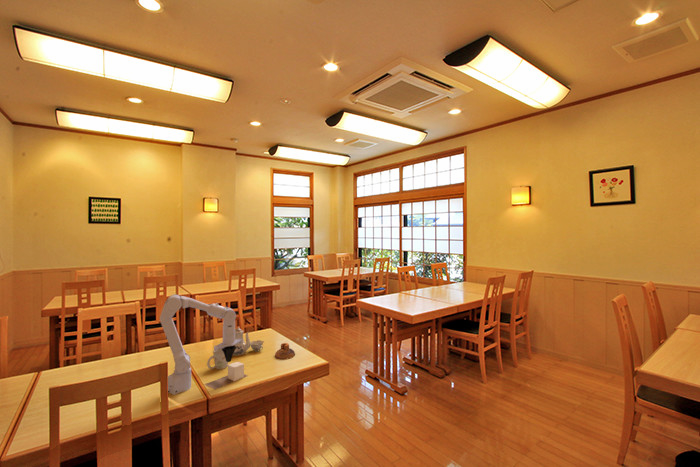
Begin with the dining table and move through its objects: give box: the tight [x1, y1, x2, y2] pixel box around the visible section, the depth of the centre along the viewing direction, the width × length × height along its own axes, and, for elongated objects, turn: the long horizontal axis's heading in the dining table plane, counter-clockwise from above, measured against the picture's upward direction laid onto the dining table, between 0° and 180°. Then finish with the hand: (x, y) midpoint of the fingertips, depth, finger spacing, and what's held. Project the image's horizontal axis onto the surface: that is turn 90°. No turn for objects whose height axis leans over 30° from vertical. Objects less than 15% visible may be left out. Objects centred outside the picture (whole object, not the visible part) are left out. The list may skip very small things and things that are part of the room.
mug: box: [206, 349, 229, 370], centre depth 171 cm, size 8×13×10 cm, turn 149°
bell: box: [274, 342, 296, 360], centre depth 192 cm, size 12×12×7 cm
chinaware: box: [232, 326, 265, 357], centre depth 199 cm, size 28×17×17 cm, turn 84°
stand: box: [204, 373, 248, 390], centre depth 156 cm, size 18×9×1 cm, turn 145°
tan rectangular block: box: [227, 361, 245, 382], centre depth 159 cm, size 5×5×7 cm
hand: (228, 361), depth 157 cm, fingers closed
